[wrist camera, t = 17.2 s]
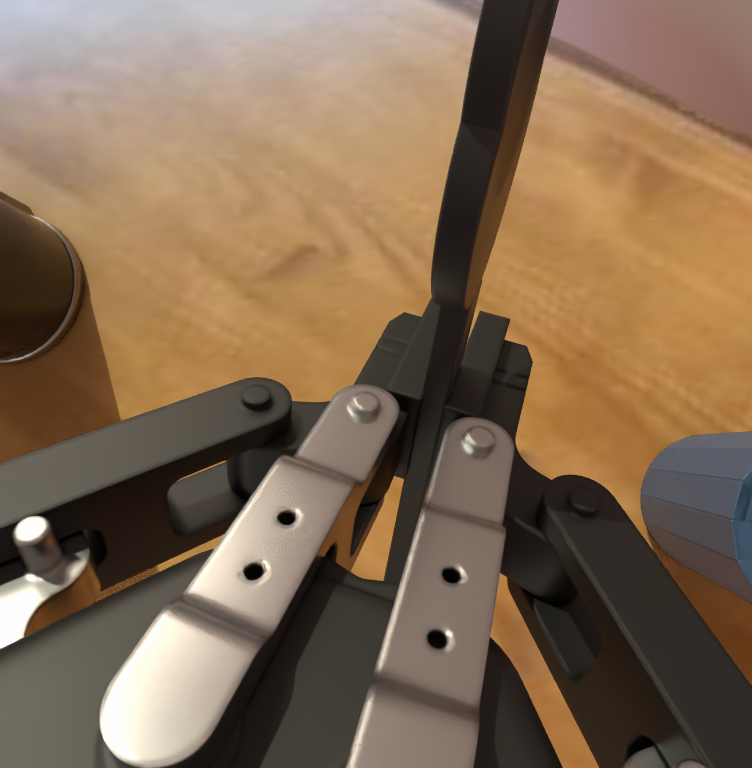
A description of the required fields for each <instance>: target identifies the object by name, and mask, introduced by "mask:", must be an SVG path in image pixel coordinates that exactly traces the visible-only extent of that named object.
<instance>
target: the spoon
mask: <svg viewBox="0 0 752 768" xmlns="http://www.w3.org/2000/svg"><path fill="white" fill-rule="evenodd" d="M558 2H559V0H484V1H483V5H482V10H481V14H480V18H479V23H478V28H477V32H476V37H475V42H474V47H473V52H472V57H471V62H470V67H469V72H468V78H467V84H466V89H465V95H464V102H463V108H462V115H461V122H460V126H459V129H458V133H457V137H456V141H455V145H454V149H453V154H452V158H451V162H450V166H449V171H448V175H447V180H446V185H445V189H444V194H443V199H442V204H441V209H440V214H439V220H438V226H437V232H436V238H435V245H434V252H433V261H432V271H431V293H432V299H433V301H434V303H435V304H437V305H439V310H438V315H437V320H436V325H435V330H434V335H433V340H432V345H431V350H430V354H429V359H428V364H427V369H426V374H425V379H424V384H423V389H422V396H423V398H422V403H421V408H420V412H419V417H418V422H417V427H416V432H415V437H414V442H413V446H412V451H411V456H410V461H409V466H408V471H407V475H406V478H405V479H404V483H403V487H402V492H401V497H400V502H399V507H398V512H397V517H396V522H395V527H394V532H393V537H392V542H391V547H390V551H389V556H388V561H387V566H386V571H385V576H384V581H386V582H395V583H400V581H401V578H402V574H403V571H404V567H405V564H406V561H407V557H408V554H409V550H410V547H411V543H412V540H413V537H414V533H415V530H416V526H417V523H418V519H419V516H420V512H421V509H422V506H423V503H424V502H425V499H426V495H427V492H428V488H429V487H428V486H425V482H426V478H427V474H428V470H429V465H430V461H431V457H432V453H433V449H434V445H435V440H436V436H437V432H438V428H439V424H440V419H441V415H442V411H443V407H444V404H445V403H447V402H448V400H449V397H450V394H451V392H452V389H453V386H454V384H455V381H456V378H457V376H458V373H459V370H460V368H461V364H462V360H463V356H464V352H465V348H466V344H467V340H468V336H469V332H470V328H471V324H472V320H473V316H474V312H475V308H476V304H477V300H478V296H479V292H480V288H481V284H482V277H483V274H484V271H485V269H486V266H487V263H488V260H489V257H490V254H491V251H492V248H493V245H494V242H495V238H496V235H497V232H498V229H499V226H500V222H501V219H502V216H503V213H504V209H505V206H506V203H507V199H508V196H509V192H510V189H511V185H512V182H513V178H514V175H515V171H516V168H517V164H518V160H519V157H520V153H521V149H522V145H523V142H524V138H525V134H526V130H527V126H528V123H529V119H530V115H531V111H532V107H533V103H534V99H535V95H536V90H537V86H538V82H539V78H540V73H541V69H542V65H543V60H544V56H545V52H546V48H547V45H548V41H549V37H550V33H551V29H552V26H553V21H554V18H555V14H556V10H557V6H558Z"/></svg>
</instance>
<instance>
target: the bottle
mask: <svg viewBox="0 0 752 768" xmlns="http://www.w3.org/2000/svg"><path fill="white" fill-rule="evenodd" d="M641 509H642V514H643V518H644V521H645V524H646V526H647V528H648V530H649V532H650V534H651V535H652V537H653V539H654V540H655V541H656V543H657V544H658V545H659V546H660V547H661V548H662V549H663V550H664V551H665V552H666V553H667V554H668V555H670V556H671V557H673V558H674V559H675V560H677V561H678V562H679V563H681V564H682V565H684V566H685V567H687V568H689V569H691V570H693V571H694V572H696V573H698V574H700V575H702V576H703V577H705V578H707V579H709V580H711V581H712V582H714V583H716V584H718V585H720V586H721V587H723V588H725V589H727V590H729V591H730V592H732V593H734V594H736V595H738V596H739V597H741V598H743V599H745V600H746V601H748V602H750V603H752V431H751V432H733V433H717V434H705V435H694V436H690V437H688V438H684V439H682V440H679V441H677V442H675V443H673V444H672V445H670V446H668V447H667V448H666V449H664V450H663V451H662V452H661V453H660V454H659V455H658V456H657V457H656V458H655V459H654V461H653V462H652V463H651V465H650V466H649V468H648V470H647V472H646V474H645V477H644V480H643V484H642V488H641Z"/></svg>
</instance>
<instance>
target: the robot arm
mask: <svg viewBox="0 0 752 768" xmlns="http://www.w3.org/2000/svg"><path fill="white" fill-rule="evenodd" d="M82 292H83V273H82V268H81V263H80V260H79V257H78V255H77V252H76V250H75V248H74V247H73V245H72V244H71V242H70V241H69V239H68V238H67V237H66V236H65V235H64V234H63V233H62V232H61V231H60V230H59V229H57V228H56V227H54V226H53V225H51V224H49V223H48V222H46V221H44V220H42V219H40V218H37V217H35V216H34V215H33V214H32V211H31V209H30V208H29V207H28V206H27V205H25V204H23V203H21V202H19V201H17V200H16V199H14V198H12V197H10V196H8V195H6V194H4V193H3V192H1V191H0V363H2V364H14V363H21V362H25V361H29V360H31V359H34V358H36V357H38V356H40V355H42V354H44V353H45V352H47V351H48V350H50V349H51V348H52V347H54V346H55V345H56V344H57V343H58V342H59V341H60V340H61V339H62V338H63V336H64V335H65V334H66V333H67V331H68V330H69V328H70V327H71V325H72V323H73V321H74V319H75V317H76V315H77V313H78V310H79V307H80V303H81V299H82ZM438 310H439V305H437V304H435V303H434V301H433V299H432V298H431V300H430V302H429V304H428V306H427V308H426V310H425V312H424V314H423V316H422V317H419V316H416V315H412V314H409V313H405V312H404V313H403V314H401V315H399V316H398V317H396V318H395V319H393V320H391V321H390V322H389V323H388V325H387V327H386V329H385V330H384V332H383V334H382V336H381V338H380V339H379V341H378V343H377V344H376V347H375V349H374V350H373V352H372V353H371V355H370V357H369V359H368V360H367V362H366V364H365V366H364V367H363V369H362V371H361V373H360V375H359V376H358V378H357V380H356V382H355V383H354V385H352V386H348V387H345V388H343V389H341V390H340V391H339V392H337V393H336V394H335V396H334V397H333V398H332V400H331V401H327V402H296V401H292V399H291V395H290V392H289V391H288V389H287V388H286V387H285V386H284V385H282V384H281V383H279V382H277V381H275V380H272V379H268V378H260V377H255V378H246V379H243V380H239V381H237V382H234V383H231V384H228V385H225V386H222V387H219V388H216V389H213V390H210V391H207V392H205V393H202V394H199V395H196V396H193V397H190V398H187V399H184V400H181V401H178V402H175V403H172V404H170V405H167V406H164V407H161V408H158V409H155V410H152V411H149V412H146V413H143V414H140V415H138V416H135V417H132V418H129V419H126V420H123V421H120V422H117V423H114V424H111V425H108V426H106V427H103V428H100V429H97V430H94V431H91V432H88V433H85V434H82V435H79V436H76V437H74V438H71V439H68V440H65V441H62V442H59V443H56V444H53V445H50V446H47V447H44V448H42V449H39V450H36V451H33V452H30V453H27V454H24V455H21V456H18V457H15V458H12V459H10V460H7V461H4V462H1V463H0V768H563V767H562V765H561V763H560V761H559V759H558V757H557V754H556V752H555V750H554V748H553V746H552V744H551V742H550V739H549V737H548V735H547V733H546V731H545V729H544V727H543V724H542V722H541V720H540V718H539V716H538V714H537V712H536V709H535V707H534V705H533V703H532V701H531V699H530V697H529V694H528V692H527V690H526V688H525V686H524V684H523V682H522V680H521V678H520V676H519V674H518V672H517V670H516V669H515V667H514V665H513V664H512V662H511V661H510V659H509V658H508V656H507V655H506V654H505V653H504V651H503V650H502V649H501V648H500V646H499V645H498V644H497V643H496V642H495V641H494V640H493V639H492V638H491V637H490V633H491V627H492V620H493V614H494V608H495V601H496V595H497V588H498V582H499V575H500V573H501V574H503V575H504V576H506V577H507V582H508V588H509V591H510V593H511V595H512V597H513V599H514V601H515V603H516V605H517V607H518V609H519V611H520V613H521V615H522V617H523V619H524V621H525V623H526V625H527V627H528V629H529V631H530V633H531V635H532V637H533V639H534V640H535V642H536V644H537V646H538V648H539V650H540V652H541V654H542V656H543V658H544V660H545V662H546V664H547V666H548V668H549V670H550V672H551V674H552V676H553V678H554V680H555V682H556V683H557V685H558V687H559V689H560V691H561V693H562V695H563V697H564V699H565V701H566V703H567V705H568V707H569V709H570V711H571V713H572V715H573V717H574V719H575V721H576V723H577V725H578V726H579V728H580V730H581V732H582V734H583V736H584V738H585V740H586V742H587V744H588V746H589V748H590V750H591V752H592V754H593V756H594V758H595V760H596V762H597V764H598V766H599V768H752V686H751V685H750V683H749V682H748V681H747V679H746V678H745V676H744V675H743V674H742V672H741V671H740V669H739V668H738V667H737V665H736V664H735V663H734V661H733V660H732V658H731V657H730V656H729V654H728V653H727V652H726V650H725V649H724V647H723V646H722V645H721V643H720V642H719V641H718V639H717V638H716V636H715V635H714V634H713V632H712V631H711V630H710V628H709V627H708V625H707V624H706V623H705V621H704V620H703V619H702V617H701V616H700V614H699V613H698V612H697V610H696V609H695V608H694V606H693V605H692V603H691V602H690V601H689V599H688V598H687V597H686V595H685V594H684V592H683V591H682V590H681V588H680V587H679V586H678V584H677V583H676V581H675V580H674V579H673V577H672V576H671V575H670V573H669V572H668V570H667V569H666V568H665V566H664V565H663V564H662V562H661V561H660V559H659V558H658V557H657V555H656V554H655V553H654V551H653V550H652V548H651V547H650V546H649V544H648V543H647V542H646V540H645V539H644V537H643V536H642V535H641V533H640V532H639V531H638V529H637V528H636V526H635V525H634V524H633V522H632V521H631V520H630V518H629V517H628V515H627V514H626V513H625V511H624V510H623V509H622V507H621V506H620V504H619V503H618V502H617V500H616V499H615V498H614V496H613V495H612V494H611V493H610V492H609V491H608V490H607V489H606V488H605V487H603V486H602V485H601V484H599V483H597V482H595V481H594V480H591V479H589V478H586V477H583V476H578V475H562V476H559V477H556V478H554V479H553V480H550V479H549V478H547V477H545V476H544V475H542V474H540V473H539V472H537V471H536V470H534V469H533V468H532V467H530V466H529V465H528V464H527V463H526V462H525V461H524V460H523V458H522V457H521V456H520V454H519V452H518V450H517V447H516V443H515V437H516V432H517V427H518V423H519V419H520V414H521V410H522V406H523V402H524V397H525V393H526V389H527V385H528V379H529V376H530V372H531V367H532V363H533V361H532V359H531V356H530V353H529V351H528V348H527V346H524V345H521V344H517V343H514V342H510V341H506V340H504V339H505V336H506V332H507V329H508V326H509V322H510V319H509V318H505V317H501V316H498V315H494V314H490V313H487V312H483V311H480V312H479V314H478V317H477V320H476V322H475V325H474V328H473V330H472V333H471V336H470V338H469V341H468V344H467V346H466V349H465V352H464V356H463V360H462V364H461V368H460V370H459V373H458V376H457V378H456V381H455V384H454V386H453V389H452V392H451V394H450V397H449V400H448V402H447V403H445V404H444V407H443V411H442V415H441V419H440V424H439V428H438V432H437V436H436V440H435V445H434V449H433V453H432V457H431V461H430V465H429V470H428V474H427V478H426V482H425V486H428V487H429V488H428V492H427V495H426V499H425V502H424V503H423V506H422V509H421V512H420V516H419V519H418V523H417V526H416V530H415V533H414V537H413V540H412V543H411V547H410V550H409V554H408V557H407V561H406V564H405V567H404V571H403V574H402V578H401V581H400V583H395V582H386V581H377V580H368V579H363V578H360V577H358V576H356V575H354V574H353V573H351V569H352V567H353V565H354V563H355V561H356V559H357V556H358V554H359V552H360V550H361V548H362V546H363V544H364V542H365V540H366V538H367V536H368V534H369V531H370V529H371V527H372V525H373V523H374V521H375V519H376V517H377V515H378V513H379V511H380V509H381V506H382V504H383V501H384V496H385V494H386V492H387V491H388V489H389V486H390V484H391V482H392V479H393V477H394V476H397V477H400V478H403V479H405V478H406V475H407V471H408V466H409V461H410V456H411V451H412V446H413V442H414V437H415V432H416V427H417V422H418V417H419V412H420V408H421V403H422V398H423V396H422V389H423V384H424V379H425V374H426V369H427V364H428V359H429V354H430V350H431V345H432V340H433V335H434V330H435V325H436V320H437V315H438ZM224 460H226V462H224V463H222V464H219V465H217V466H214V467H212V468H209V469H207V470H204V471H202V472H200V473H197V474H195V475H192V476H190V477H187V478H185V479H182V480H180V481H178V480H179V479H181V478H183V477H185V476H187V475H190V474H192V473H195V472H197V471H200V470H202V469H205V468H207V467H209V466H212V465H214V464H217V463H219V462H222V461H224ZM176 481H177V482H176ZM223 534H224V536H223V537H222V539H221V540H220V542H219V543H218V544H217V546H216V547H215V549H211V550H208V551H205V552H202V553H199V554H197V555H195V556H192V557H190V558H188V559H186V560H184V561H182V562H180V563H178V564H175V565H173V566H171V567H169V568H167V569H165V570H163V571H161V572H159V573H157V574H155V575H152V576H150V577H148V578H146V579H144V580H142V581H140V582H138V583H136V584H134V585H132V586H130V587H127V588H125V589H123V590H121V591H119V592H117V593H115V594H113V595H111V596H109V597H107V598H104V599H102V600H100V601H98V602H96V600H97V598H98V596H99V593H100V592H101V591H103V590H105V589H107V588H109V587H111V586H114V585H116V584H118V583H120V582H122V581H124V580H126V579H129V578H131V577H133V576H135V575H137V574H139V573H141V572H144V571H146V570H148V569H150V568H152V567H154V566H156V565H159V564H161V563H163V562H165V561H167V560H169V559H171V558H174V557H176V556H178V555H180V554H182V553H184V552H186V551H189V550H191V549H193V548H195V547H197V546H199V545H201V544H204V543H206V542H208V541H210V540H212V539H214V538H216V537H219V536H221V535H223ZM95 602H96V603H95Z"/></svg>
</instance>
